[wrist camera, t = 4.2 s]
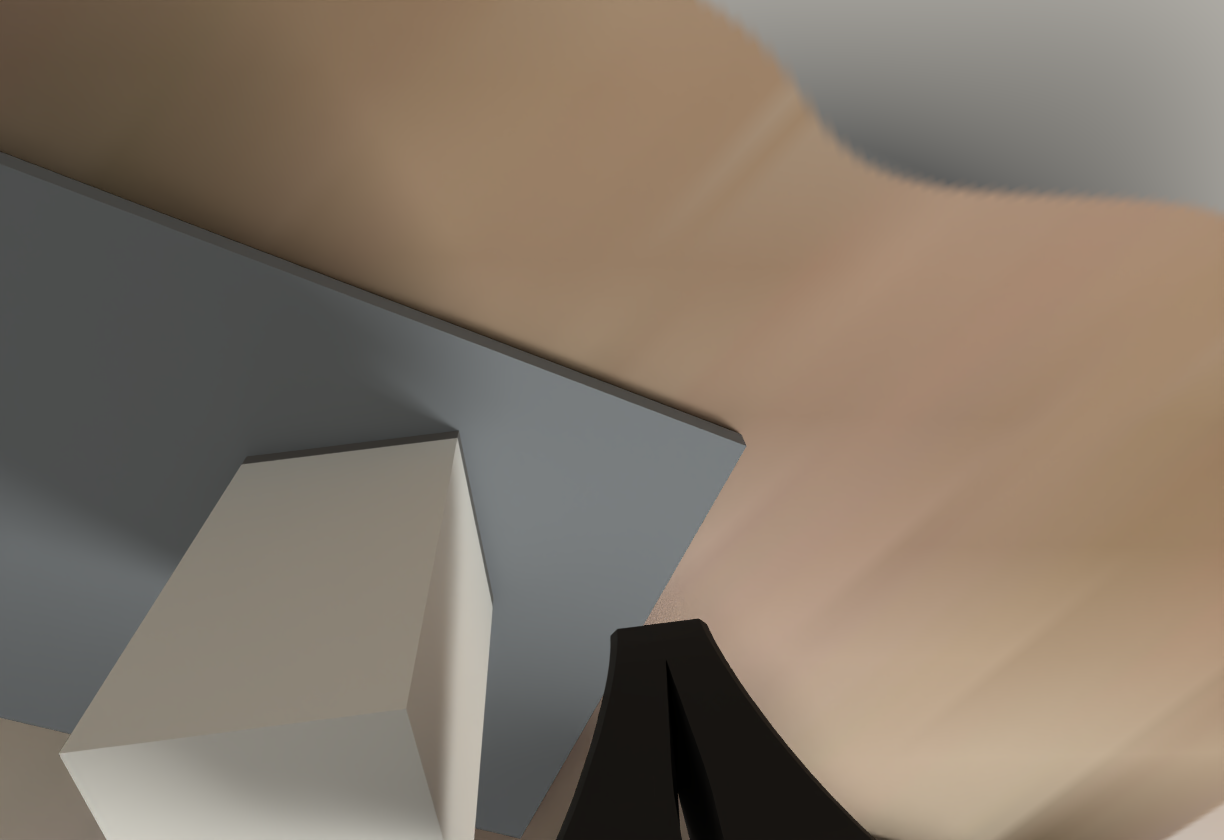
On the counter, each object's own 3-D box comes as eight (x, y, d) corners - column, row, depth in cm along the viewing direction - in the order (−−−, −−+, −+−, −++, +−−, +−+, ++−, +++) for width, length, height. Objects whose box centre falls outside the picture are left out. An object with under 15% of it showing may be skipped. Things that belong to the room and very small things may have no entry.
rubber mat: (740, 434, 17) (745, 446, 17) (520, 821, 22) (520, 838, 21) (-158, 90, 13) (-183, 94, 13) (-195, 651, 18) (-215, 667, 17)
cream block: (459, 430, 16) (405, 708, 10) (493, 598, 18) (467, 923, 12) (246, 456, 16) (58, 753, 10) (303, 622, 18) (174, 961, 12)
